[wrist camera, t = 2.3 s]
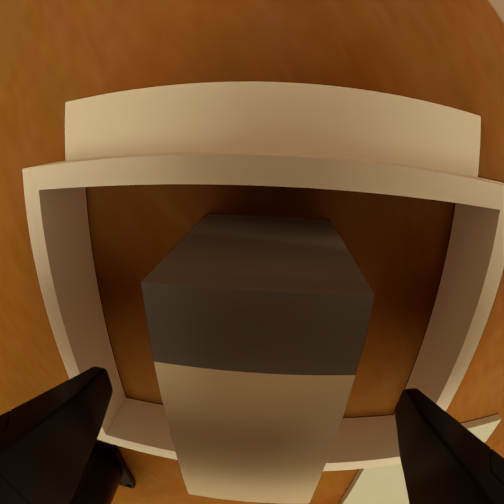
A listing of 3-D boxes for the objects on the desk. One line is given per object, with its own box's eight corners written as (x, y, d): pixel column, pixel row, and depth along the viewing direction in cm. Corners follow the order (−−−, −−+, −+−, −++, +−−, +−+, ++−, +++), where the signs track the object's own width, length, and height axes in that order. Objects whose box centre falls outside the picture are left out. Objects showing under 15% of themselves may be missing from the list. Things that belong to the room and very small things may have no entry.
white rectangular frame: (436, 417, 14) (452, 453, 12) (116, 403, 16) (97, 439, 13) (516, 130, 9) (561, 133, 6) (69, 102, 10) (22, 99, 8)
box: (304, 399, 14) (309, 503, 9) (214, 393, 15) (188, 493, 9) (329, 219, 11) (374, 295, 6) (206, 213, 12) (141, 281, 6)
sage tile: (425, 503, 19) (426, 507, 18) (328, 518, 20) (329, 523, 19) (498, 413, 14) (501, 419, 14) (375, 436, 15) (377, 444, 14)
